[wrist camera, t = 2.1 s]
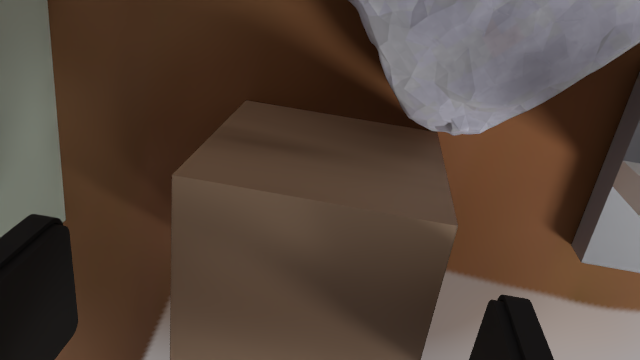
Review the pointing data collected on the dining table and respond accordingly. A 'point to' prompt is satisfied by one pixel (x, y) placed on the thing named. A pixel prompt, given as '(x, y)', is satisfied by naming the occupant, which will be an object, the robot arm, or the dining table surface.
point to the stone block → (491, 53)
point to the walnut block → (308, 239)
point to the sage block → (28, 116)
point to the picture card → (615, 200)
